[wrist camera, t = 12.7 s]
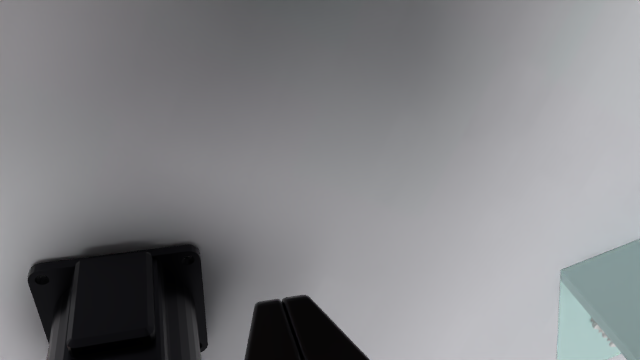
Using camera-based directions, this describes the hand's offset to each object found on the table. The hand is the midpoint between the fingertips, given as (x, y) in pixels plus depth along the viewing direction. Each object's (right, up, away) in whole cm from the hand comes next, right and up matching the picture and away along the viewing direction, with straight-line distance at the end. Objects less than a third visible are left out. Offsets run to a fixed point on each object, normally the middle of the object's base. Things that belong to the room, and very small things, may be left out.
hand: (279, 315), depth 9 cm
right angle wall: (+21, -5, +27) cm, 34 cm away
